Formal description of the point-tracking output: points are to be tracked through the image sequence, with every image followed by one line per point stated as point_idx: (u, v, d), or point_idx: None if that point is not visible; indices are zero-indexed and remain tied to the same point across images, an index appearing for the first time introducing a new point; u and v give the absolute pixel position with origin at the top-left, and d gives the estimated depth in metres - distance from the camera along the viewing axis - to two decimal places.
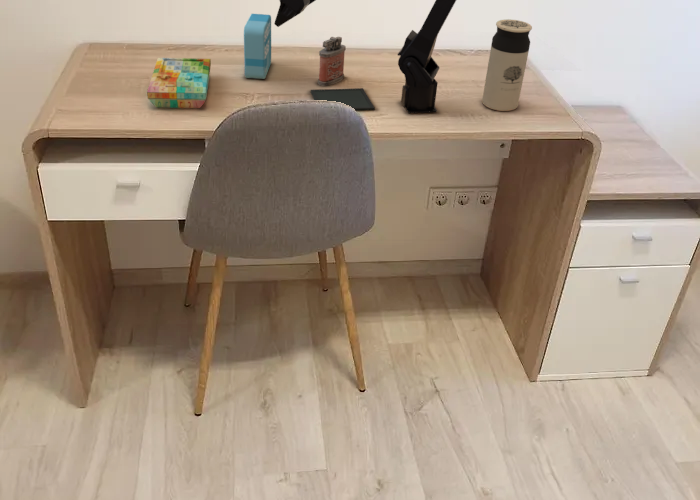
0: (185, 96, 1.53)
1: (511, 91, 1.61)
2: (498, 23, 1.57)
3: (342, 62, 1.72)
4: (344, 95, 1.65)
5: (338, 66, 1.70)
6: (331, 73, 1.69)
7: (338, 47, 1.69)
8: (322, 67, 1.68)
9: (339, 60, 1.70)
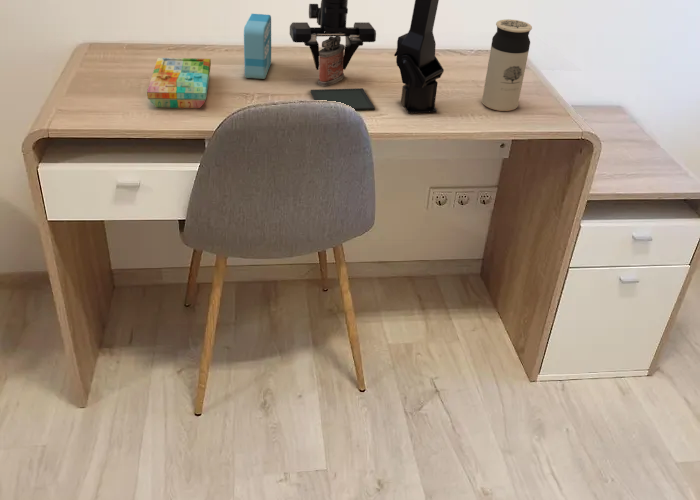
0: (185, 96, 1.53)
1: (511, 91, 1.61)
2: (498, 23, 1.57)
3: (342, 61, 1.72)
4: (344, 95, 1.65)
5: (337, 66, 1.70)
6: (331, 73, 1.69)
7: (337, 46, 1.69)
8: (322, 67, 1.68)
9: (338, 59, 1.70)
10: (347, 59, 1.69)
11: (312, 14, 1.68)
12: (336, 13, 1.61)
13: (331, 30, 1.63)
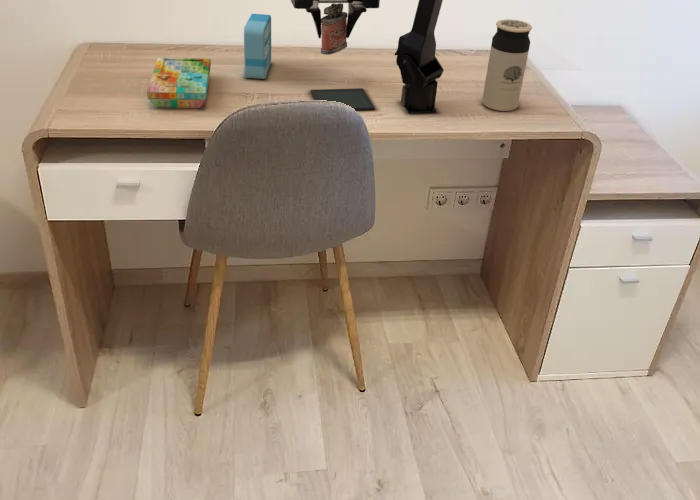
0: (185, 96, 1.53)
1: (511, 91, 1.61)
2: (498, 23, 1.57)
3: (344, 30, 1.67)
4: (344, 95, 1.65)
5: (340, 34, 1.66)
6: (333, 41, 1.65)
7: (340, 14, 1.64)
8: (324, 35, 1.63)
9: (341, 27, 1.65)
10: (350, 27, 1.65)
11: None
12: None
13: None
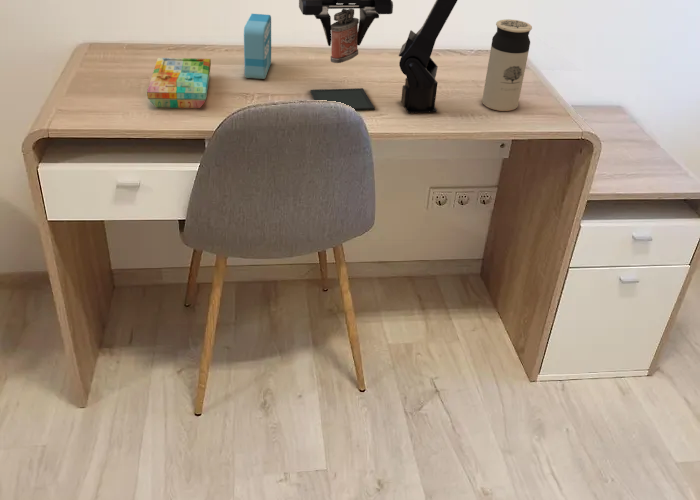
0: (185, 96, 1.53)
1: (511, 91, 1.61)
2: (498, 23, 1.57)
3: (356, 37, 1.58)
4: (344, 95, 1.65)
5: (351, 41, 1.57)
6: (344, 49, 1.56)
7: (351, 20, 1.55)
8: (334, 43, 1.54)
9: (352, 34, 1.56)
10: (362, 34, 1.56)
11: None
12: None
13: (344, 1, 1.50)
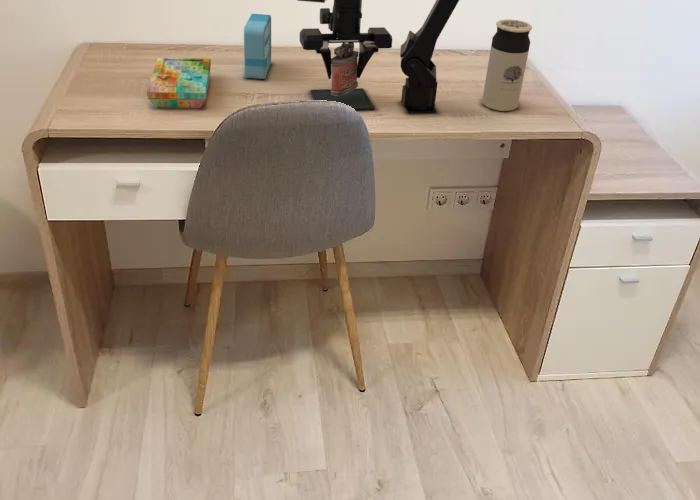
0: (185, 96, 1.53)
1: (511, 91, 1.61)
2: (498, 23, 1.57)
3: (355, 69, 1.60)
4: (344, 95, 1.65)
5: (351, 74, 1.59)
6: (344, 82, 1.58)
7: (350, 54, 1.58)
8: (335, 76, 1.57)
9: (352, 67, 1.59)
10: (361, 67, 1.58)
11: (323, 19, 1.57)
12: (349, 18, 1.50)
13: (344, 36, 1.52)
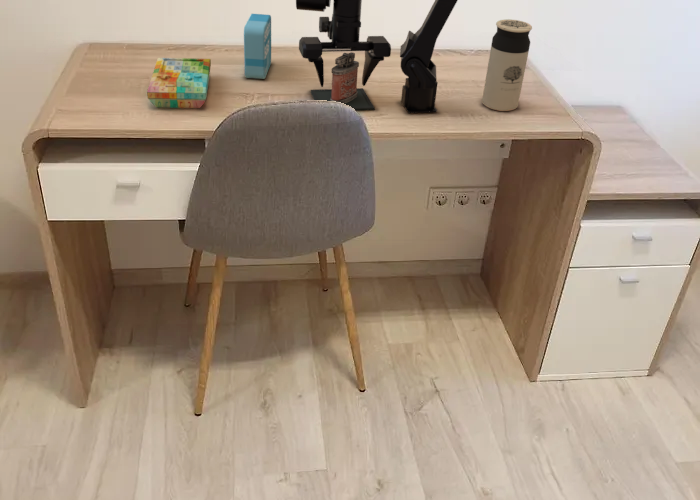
0: (185, 96, 1.53)
1: (511, 91, 1.61)
2: (498, 23, 1.57)
3: (355, 79, 1.62)
4: None
5: (351, 84, 1.60)
6: (344, 92, 1.59)
7: (351, 64, 1.59)
8: (335, 85, 1.58)
9: (352, 77, 1.60)
10: (367, 75, 1.59)
11: (323, 28, 1.58)
12: (348, 27, 1.51)
13: (343, 45, 1.53)
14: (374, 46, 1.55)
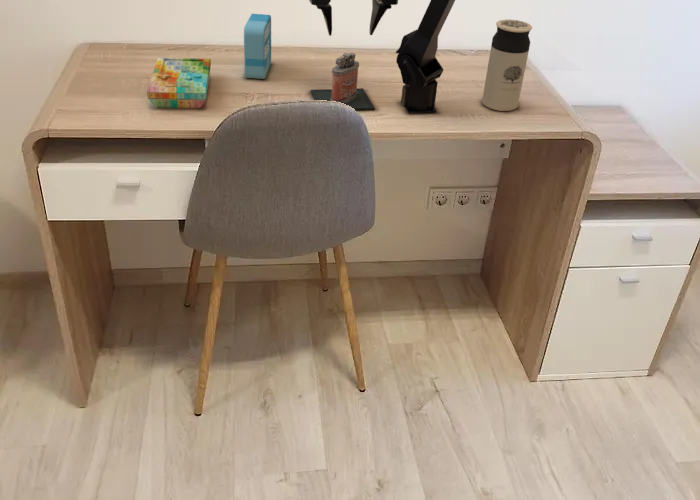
0: (185, 96, 1.53)
1: (511, 91, 1.61)
2: (498, 23, 1.57)
3: (355, 79, 1.62)
4: None
5: (351, 84, 1.60)
6: (344, 92, 1.59)
7: (351, 64, 1.59)
8: (335, 86, 1.58)
9: (352, 77, 1.60)
10: (374, 23, 1.62)
11: None
12: None
13: None
14: None
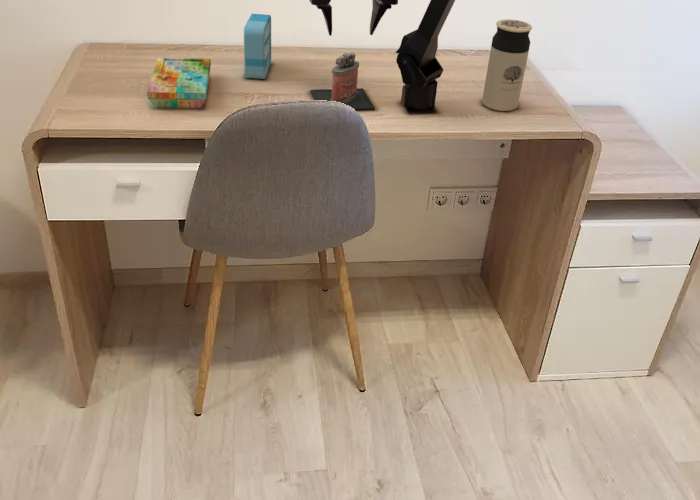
0: (185, 96, 1.53)
1: (511, 91, 1.61)
2: (498, 23, 1.57)
3: (355, 79, 1.62)
4: None
5: (351, 84, 1.60)
6: (344, 92, 1.59)
7: (351, 64, 1.59)
8: (335, 86, 1.58)
9: (352, 77, 1.60)
10: (374, 23, 1.62)
11: None
12: None
13: None
14: None
